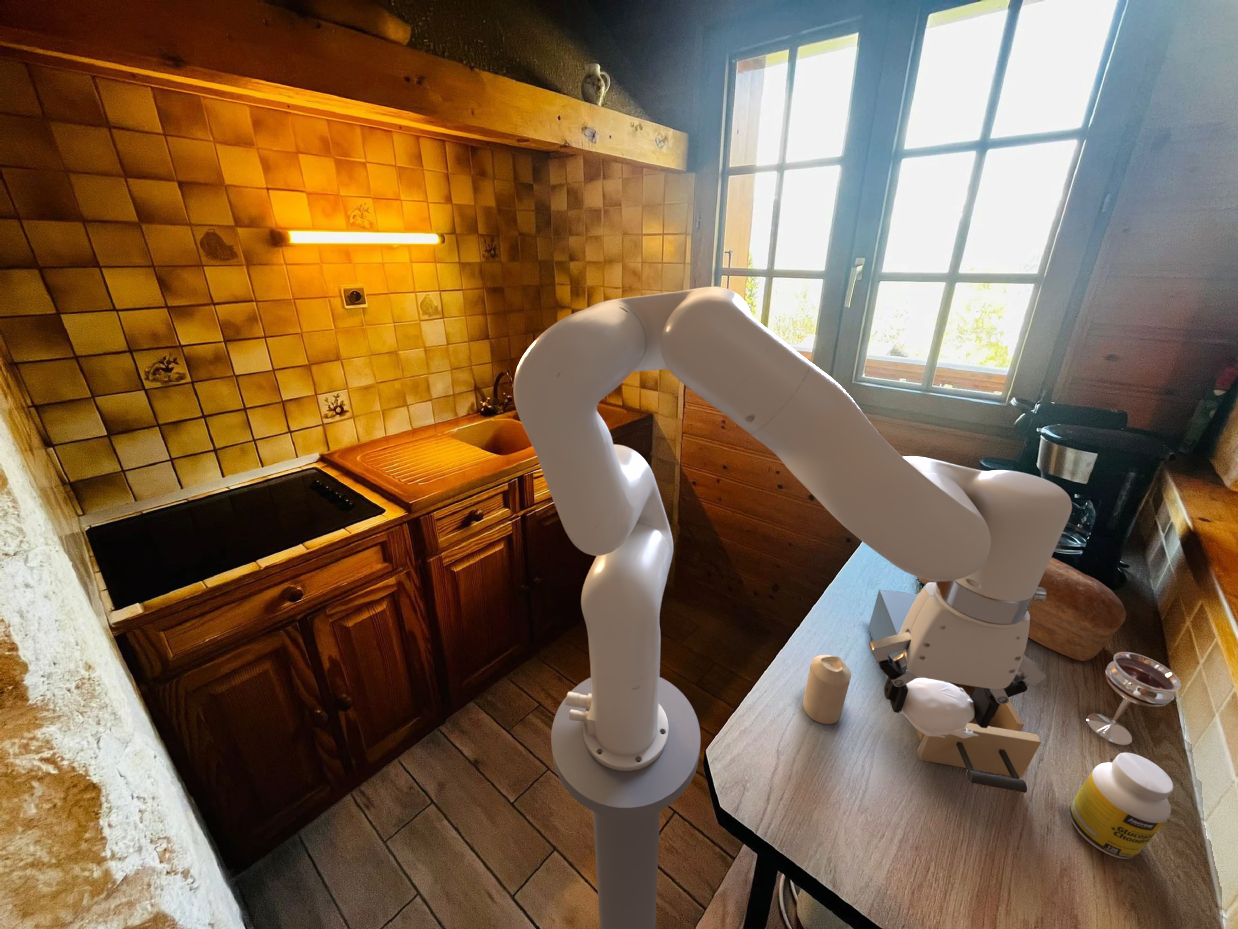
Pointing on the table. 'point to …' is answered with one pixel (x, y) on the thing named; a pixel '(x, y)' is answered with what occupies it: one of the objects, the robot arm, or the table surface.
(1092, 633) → the bread
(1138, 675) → the wineglass
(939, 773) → the table surface
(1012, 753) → the drawer
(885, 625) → the cabinet
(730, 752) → the table surface
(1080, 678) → the table surface
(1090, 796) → the pill bottle
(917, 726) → the garlic
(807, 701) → the candle
